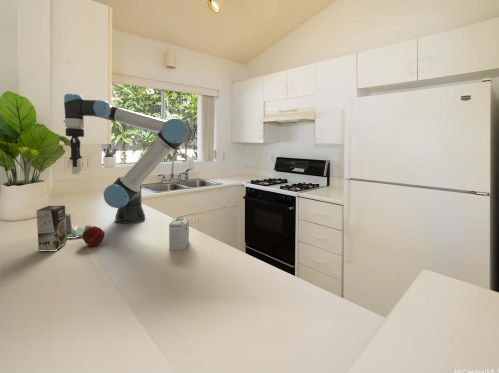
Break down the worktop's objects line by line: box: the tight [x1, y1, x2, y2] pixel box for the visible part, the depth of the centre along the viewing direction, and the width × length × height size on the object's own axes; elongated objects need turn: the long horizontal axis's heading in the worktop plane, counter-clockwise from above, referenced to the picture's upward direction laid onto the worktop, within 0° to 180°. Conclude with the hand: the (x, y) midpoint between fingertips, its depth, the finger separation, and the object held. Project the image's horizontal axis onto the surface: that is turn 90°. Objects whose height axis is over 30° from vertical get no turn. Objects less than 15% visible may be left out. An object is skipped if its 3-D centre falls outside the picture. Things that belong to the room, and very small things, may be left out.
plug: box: [65, 212, 73, 234], centre depth 123 cm, size 4×4×9 cm
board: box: [66, 224, 92, 239], centre depth 126 cm, size 16×12×3 cm
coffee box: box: [35, 205, 68, 251], centre depth 108 cm, size 9×6×16 cm
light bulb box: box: [168, 217, 190, 251], centre depth 116 cm, size 11×7×11 cm, turn 5°
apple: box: [81, 225, 106, 247], centre depth 112 cm, size 7×8×8 cm
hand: (76, 172), depth 135 cm, fingers open, 13 cm apart
